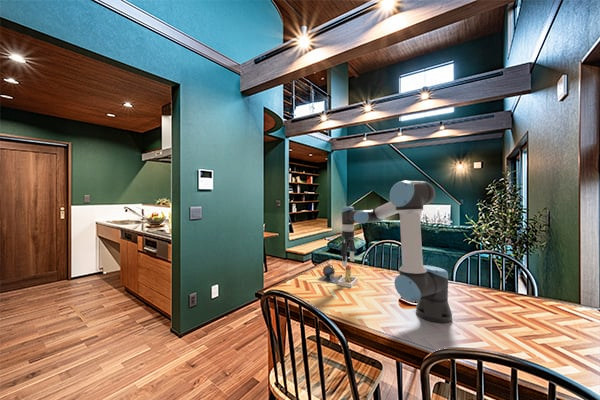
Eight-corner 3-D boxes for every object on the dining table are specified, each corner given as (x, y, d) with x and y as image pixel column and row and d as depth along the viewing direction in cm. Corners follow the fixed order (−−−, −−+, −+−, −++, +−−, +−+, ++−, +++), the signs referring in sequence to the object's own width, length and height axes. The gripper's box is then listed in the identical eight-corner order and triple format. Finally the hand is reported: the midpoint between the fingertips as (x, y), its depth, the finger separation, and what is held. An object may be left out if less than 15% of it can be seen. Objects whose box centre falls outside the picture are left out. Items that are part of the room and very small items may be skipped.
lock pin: (349, 284, 153) (349, 267, 152) (344, 283, 155) (344, 266, 154) (351, 282, 156) (351, 265, 155) (346, 281, 157) (346, 265, 157)
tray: (351, 288, 147) (351, 283, 147) (337, 285, 152) (337, 281, 152) (358, 281, 158) (358, 277, 158) (345, 279, 163) (345, 275, 163)
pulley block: (338, 285, 152) (337, 271, 152) (317, 281, 160) (316, 268, 160) (345, 279, 163) (345, 266, 163) (325, 275, 171) (325, 263, 171)
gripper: (346, 233, 141) (347, 269, 142) (359, 228, 163) (360, 259, 163) (334, 232, 145) (335, 267, 146) (349, 228, 167) (349, 258, 167)
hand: (348, 263), depth 154 cm, fingers open, 13 cm apart
